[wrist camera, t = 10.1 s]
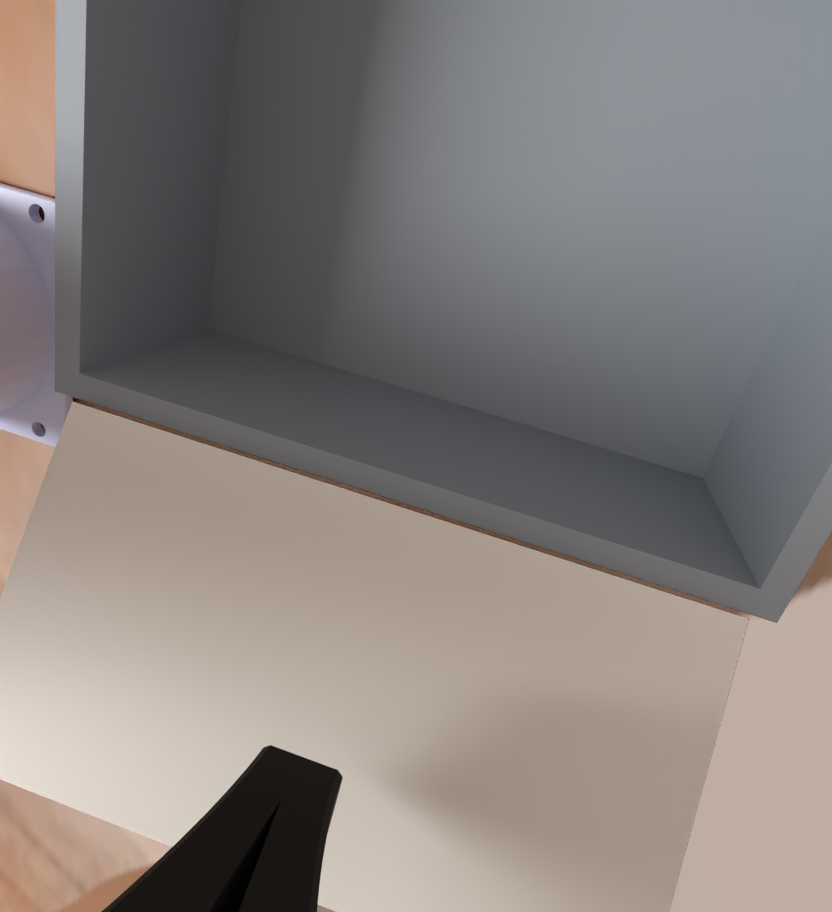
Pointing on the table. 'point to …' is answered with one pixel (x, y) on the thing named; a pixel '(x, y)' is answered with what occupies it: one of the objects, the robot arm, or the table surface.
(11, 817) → the table surface
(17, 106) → the table surface
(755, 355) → the carton
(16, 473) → the table surface
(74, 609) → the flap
